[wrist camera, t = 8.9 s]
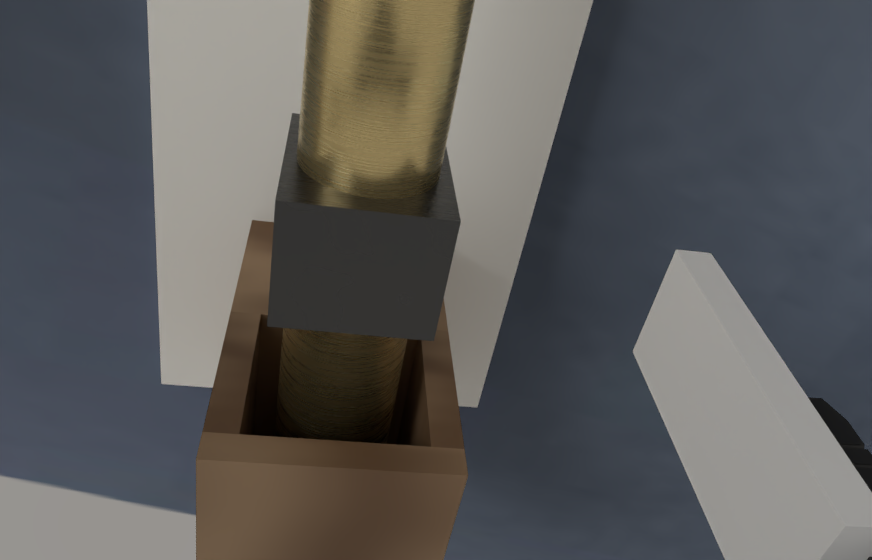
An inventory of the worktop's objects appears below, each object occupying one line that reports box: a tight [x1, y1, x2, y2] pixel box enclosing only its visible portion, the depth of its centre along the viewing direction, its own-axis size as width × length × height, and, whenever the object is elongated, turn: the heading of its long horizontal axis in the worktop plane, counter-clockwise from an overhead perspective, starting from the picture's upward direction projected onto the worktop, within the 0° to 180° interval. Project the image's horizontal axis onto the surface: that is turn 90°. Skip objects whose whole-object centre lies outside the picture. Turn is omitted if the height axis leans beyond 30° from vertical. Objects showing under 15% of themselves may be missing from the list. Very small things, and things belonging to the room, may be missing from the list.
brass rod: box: [267, 0, 475, 444], centre depth 15 cm, size 4×26×4 cm, turn 170°
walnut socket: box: [196, 220, 468, 560], centre depth 23 cm, size 6×6×10 cm
